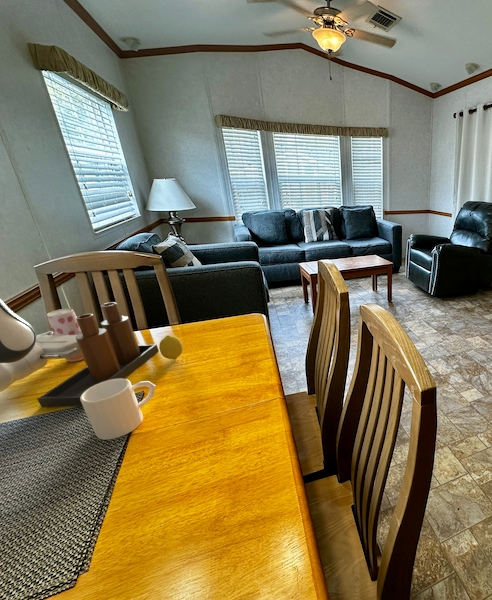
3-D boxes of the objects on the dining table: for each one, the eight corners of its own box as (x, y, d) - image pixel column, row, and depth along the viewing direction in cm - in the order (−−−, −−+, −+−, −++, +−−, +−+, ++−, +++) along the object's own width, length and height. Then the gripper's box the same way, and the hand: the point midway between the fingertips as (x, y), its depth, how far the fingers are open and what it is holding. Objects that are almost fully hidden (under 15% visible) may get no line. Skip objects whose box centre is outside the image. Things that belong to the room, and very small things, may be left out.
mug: (166, 418, 74) (154, 382, 71) (96, 446, 67) (79, 407, 63) (161, 401, 80) (149, 367, 76) (96, 424, 72) (80, 388, 69)
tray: (90, 406, 78) (86, 397, 77) (41, 407, 78) (36, 398, 77) (158, 351, 102) (156, 344, 101) (121, 352, 101) (118, 345, 100)
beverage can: (70, 364, 95) (49, 317, 89) (63, 358, 98) (42, 313, 92) (94, 355, 99) (76, 310, 94) (87, 350, 102) (69, 306, 97)
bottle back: (112, 366, 94) (89, 309, 87) (121, 356, 99) (101, 301, 92) (136, 363, 95) (116, 306, 89) (144, 353, 101) (126, 299, 94)
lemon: (189, 356, 99) (183, 333, 96) (171, 366, 94) (163, 341, 91) (178, 352, 101) (171, 329, 98) (159, 361, 96) (151, 337, 93)
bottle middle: (88, 383, 86) (62, 322, 80) (100, 371, 92) (76, 313, 85) (115, 379, 88) (92, 319, 81) (125, 367, 93) (104, 310, 87)
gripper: (59, 346, 83) (103, 322, 95) (-25, 347, 82) (31, 323, 95) (69, 367, 85) (110, 341, 98) (-13, 369, 84) (40, 342, 97)
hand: (71, 332), depth 96 cm, fingers open, 8 cm apart
